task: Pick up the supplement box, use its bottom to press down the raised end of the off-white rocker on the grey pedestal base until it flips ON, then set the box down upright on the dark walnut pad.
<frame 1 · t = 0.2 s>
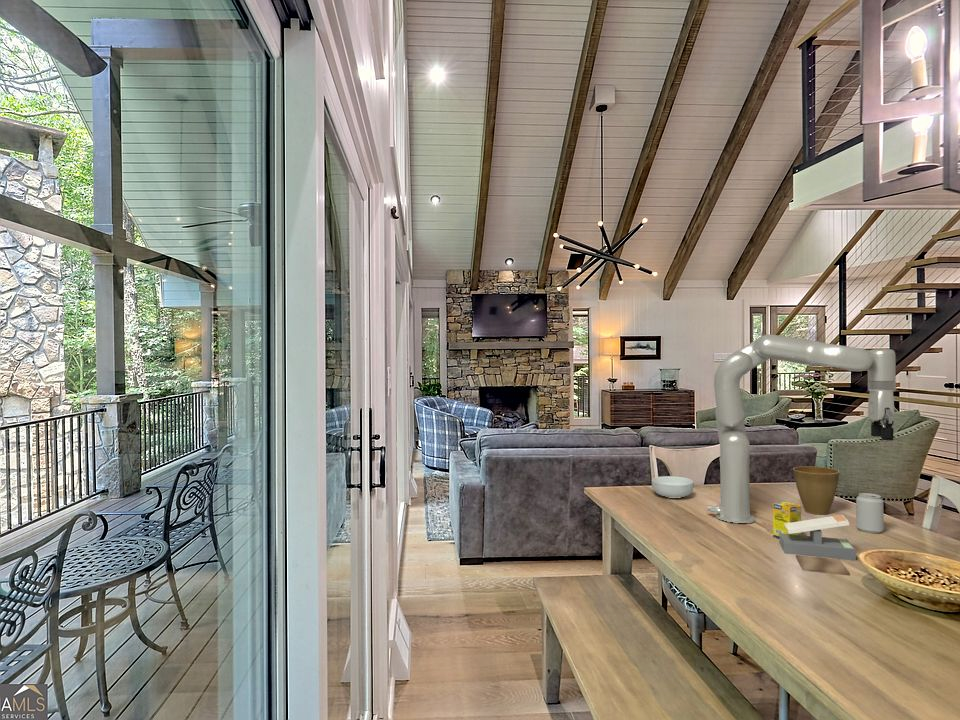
hand: (881, 438, 186), 31 cm above the table, tool pointing down, fingers open, 9 cm apart
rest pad: (821, 565, 156), on the table
plant pot: (816, 512, 211), on the table
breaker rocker: (815, 523, 168), point 8 cm above the table, hinge at -15.0°
grey pedestal base: (815, 551, 168), on the table
supplement box: (787, 538, 180), on the table
can: (869, 531, 188), on the table
cereal bowl: (672, 497, 236), on the table
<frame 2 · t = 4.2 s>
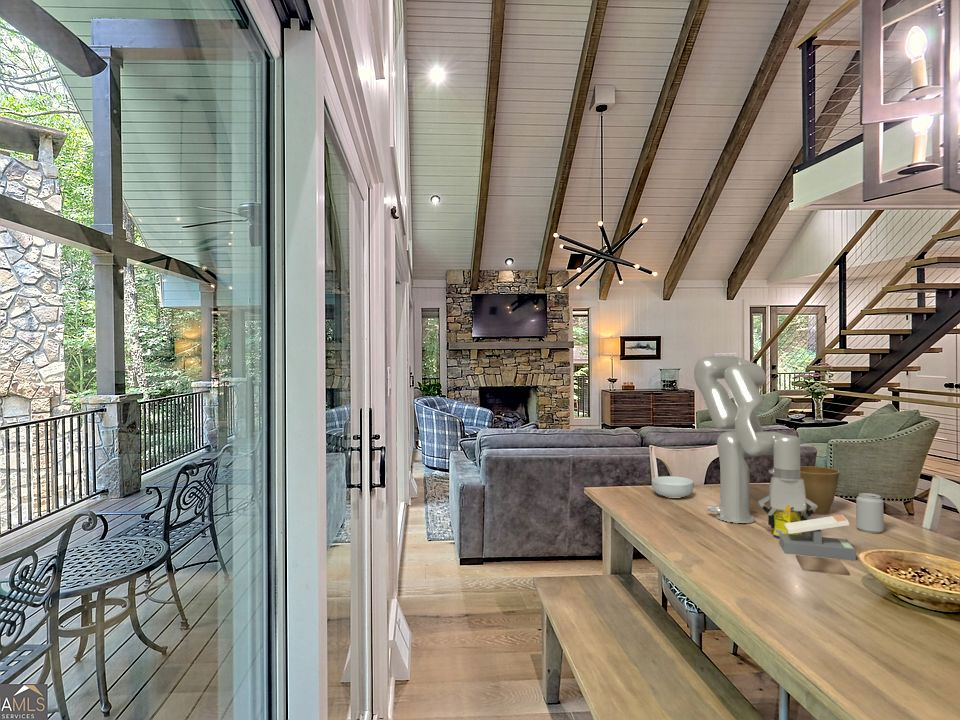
hand: (787, 528, 180), 3 cm above the table, tool pointing down, fingers closed on supplement box, 8 cm apart
supplement box: (787, 538, 180), on the table, touching gripper
everything else where it was.
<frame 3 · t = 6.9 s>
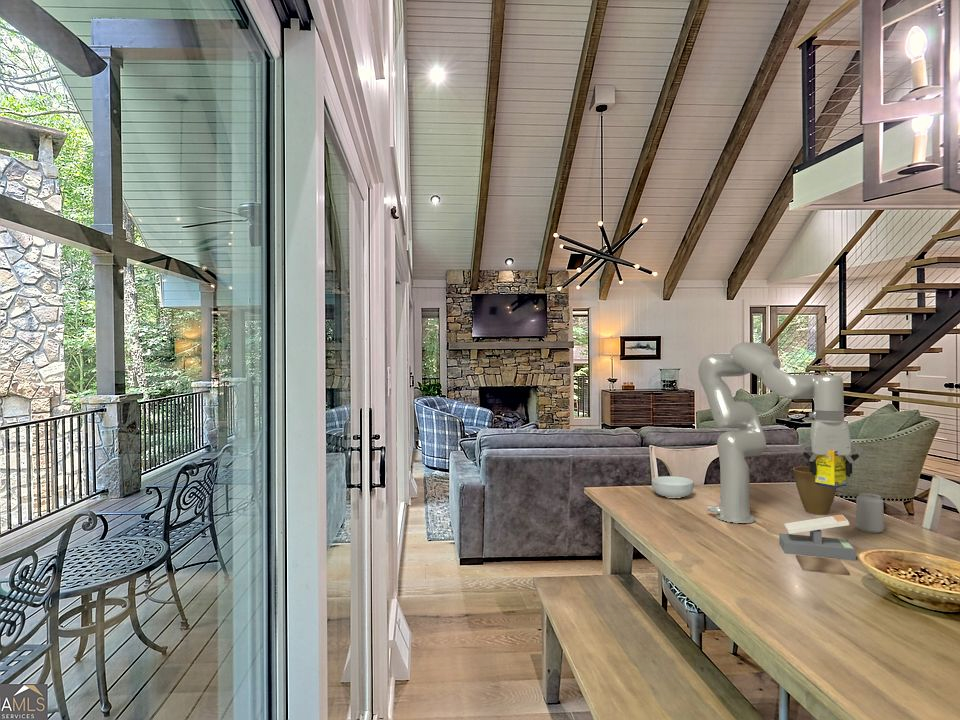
hand: (830, 475, 168), 23 cm above the table, tool pointing down, fingers closed on supplement box, 8 cm apart
supplement box: (830, 486, 168), point 19 cm above the table, touching gripper
everything else where it was.
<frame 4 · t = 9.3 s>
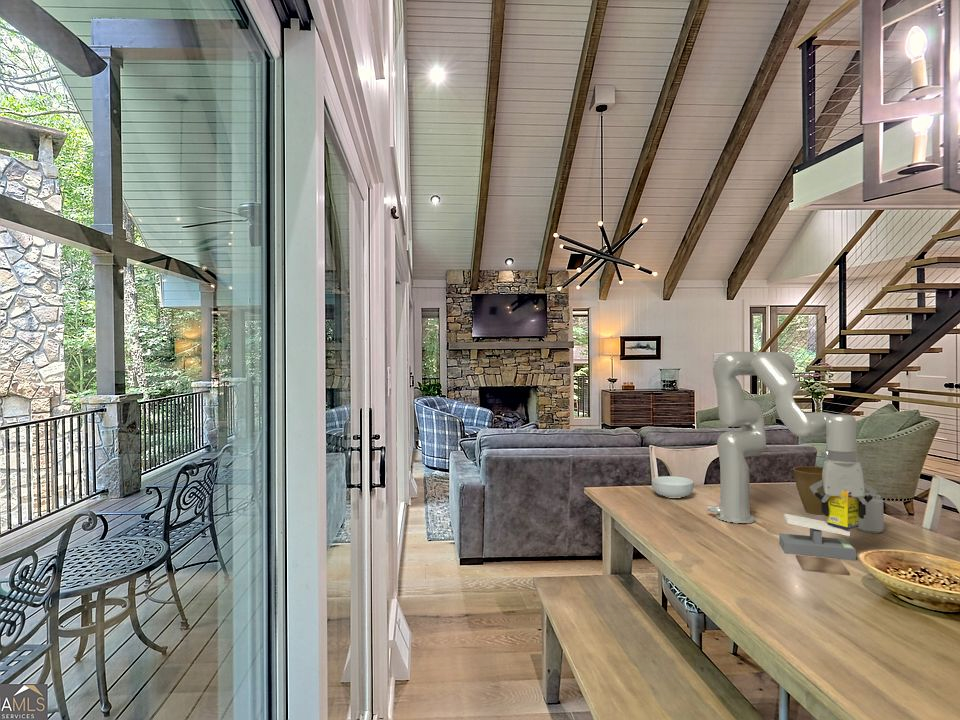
hand: (843, 516, 165), 11 cm above the table, tool pointing down, fingers closed on supplement box, 8 cm apart
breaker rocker: (815, 523, 168), point 8 cm above the table, hinge at 7.8°, touching supplement box
supplement box: (843, 526, 165), point 8 cm above the table, touching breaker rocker, gripper
everything else where it was.
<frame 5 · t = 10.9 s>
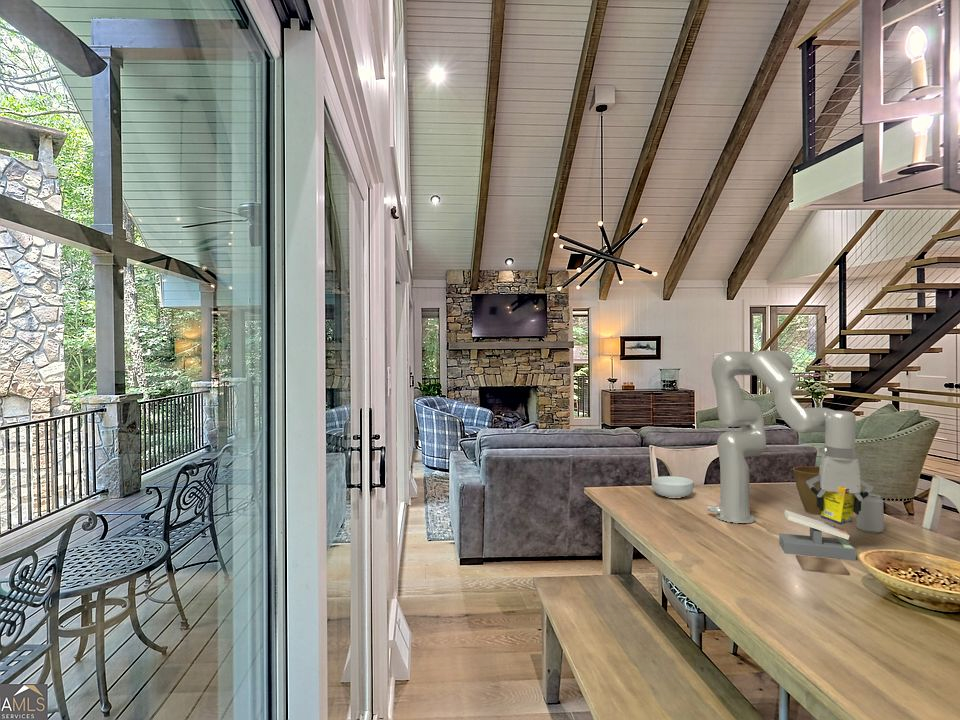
hand: (838, 511, 166), 12 cm above the table, tool pointing down, fingers closed on supplement box, 8 cm apart
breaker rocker: (815, 523, 168), point 8 cm above the table, hinge at 15.9°
supplement box: (836, 520, 167), point 9 cm above the table, touching gripper
everything else where it was.
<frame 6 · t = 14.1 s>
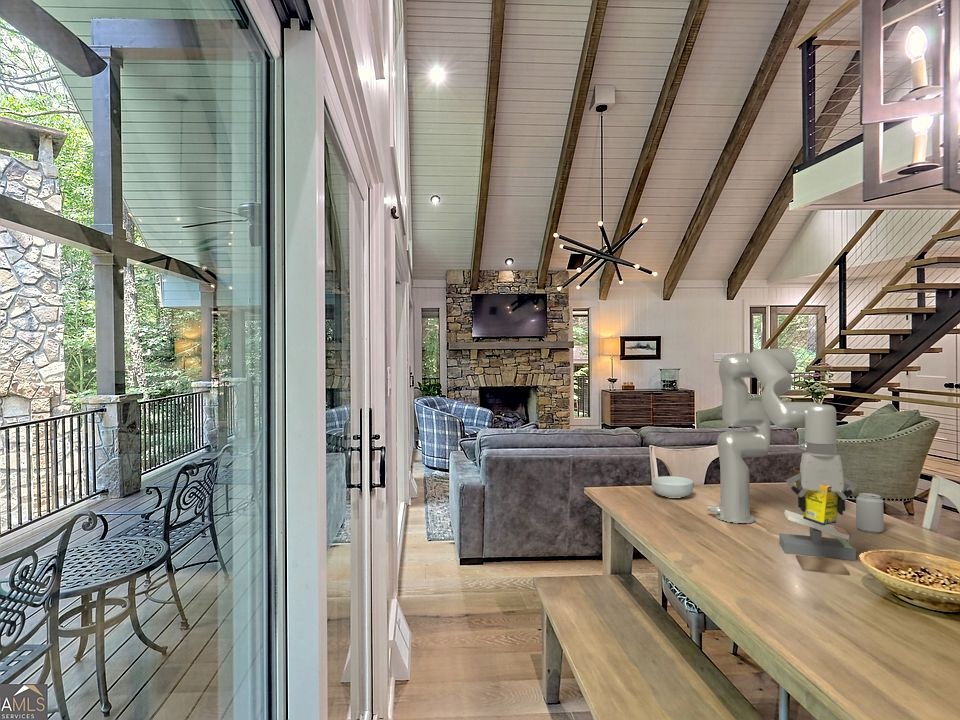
hand: (821, 511, 156), 15 cm above the table, tool pointing down, fingers closed on supplement box, 8 cm apart
supplement box: (819, 521, 157), point 12 cm above the table, touching gripper
everything else where it was.
when the fingers open (5 cm above the table, at t = 16.5 s): supplement box drops 2 cm, resting on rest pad.
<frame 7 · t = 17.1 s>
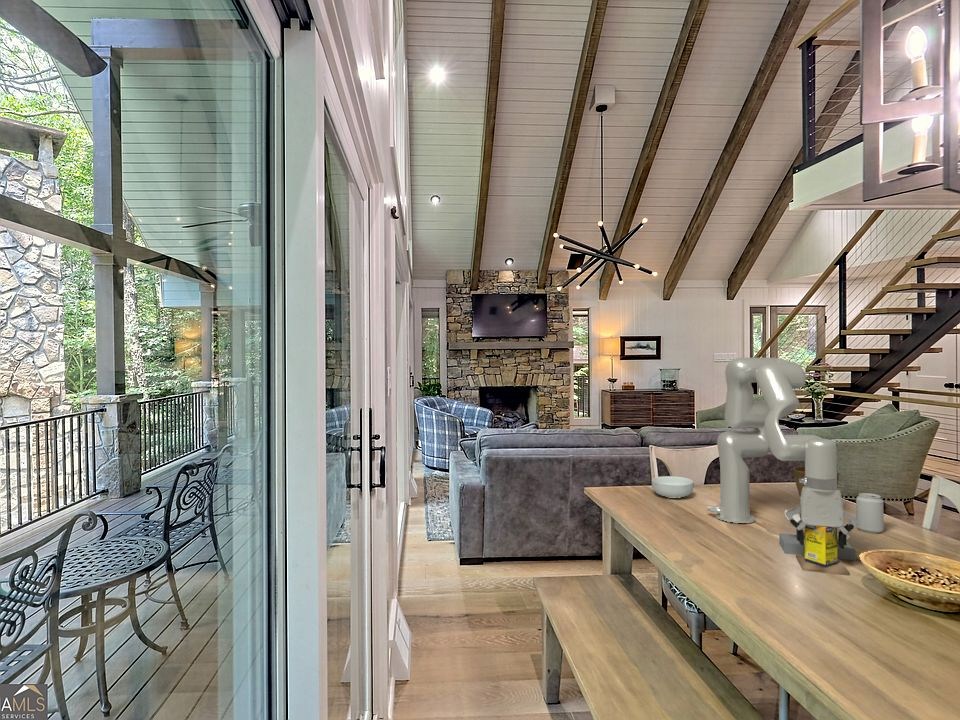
hand: (821, 545, 156), 6 cm above the table, tool pointing down, fingers open, 9 cm apart
supplement box: (821, 563, 157), resting on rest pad
everything else where it was.
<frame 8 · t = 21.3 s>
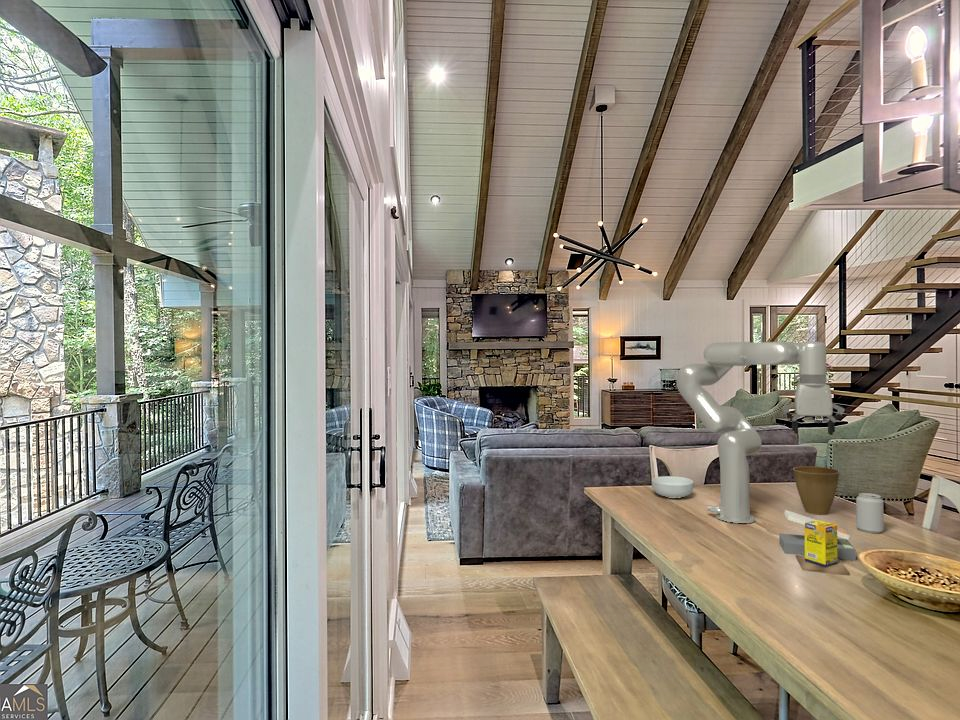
hand: (813, 433, 180), 33 cm above the table, tool pointing down, fingers open, 9 cm apart
nothing on the table moved.
at the end: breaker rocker at +16° (first picture: -15°); supplement box inside the target area on the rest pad (0.8 cm from its centre), point 0.4 cm above the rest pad's base; supplement box tilted 0° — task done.
